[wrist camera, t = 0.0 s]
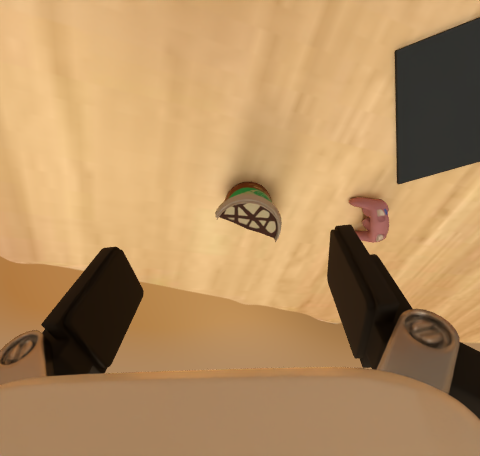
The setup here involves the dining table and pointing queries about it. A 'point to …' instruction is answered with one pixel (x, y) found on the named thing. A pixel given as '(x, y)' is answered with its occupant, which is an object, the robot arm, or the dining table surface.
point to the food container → (251, 209)
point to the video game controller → (372, 218)
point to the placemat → (438, 103)
